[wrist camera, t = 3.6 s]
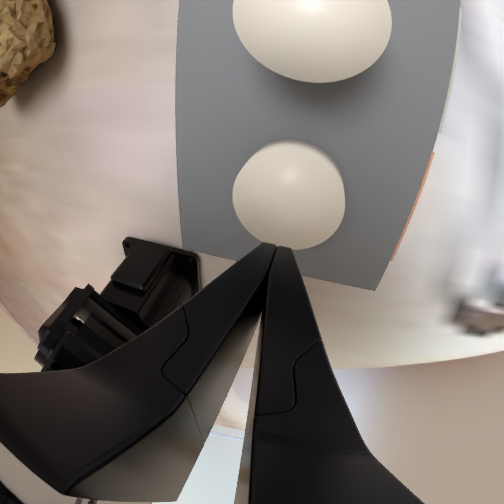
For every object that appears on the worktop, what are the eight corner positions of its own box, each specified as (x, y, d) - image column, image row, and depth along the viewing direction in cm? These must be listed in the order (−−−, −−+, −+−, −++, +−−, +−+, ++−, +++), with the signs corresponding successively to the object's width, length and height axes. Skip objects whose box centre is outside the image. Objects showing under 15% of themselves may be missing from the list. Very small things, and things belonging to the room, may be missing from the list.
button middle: (363, 87, 10) (379, 98, 7) (258, 68, 10) (227, 73, 7) (375, -5, 7) (396, -32, 4) (266, -21, 7) (238, -52, 4)
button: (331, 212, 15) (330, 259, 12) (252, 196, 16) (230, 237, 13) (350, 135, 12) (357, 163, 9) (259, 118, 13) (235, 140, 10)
